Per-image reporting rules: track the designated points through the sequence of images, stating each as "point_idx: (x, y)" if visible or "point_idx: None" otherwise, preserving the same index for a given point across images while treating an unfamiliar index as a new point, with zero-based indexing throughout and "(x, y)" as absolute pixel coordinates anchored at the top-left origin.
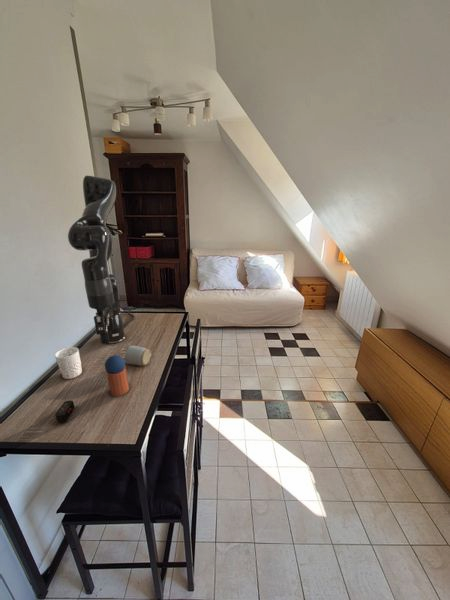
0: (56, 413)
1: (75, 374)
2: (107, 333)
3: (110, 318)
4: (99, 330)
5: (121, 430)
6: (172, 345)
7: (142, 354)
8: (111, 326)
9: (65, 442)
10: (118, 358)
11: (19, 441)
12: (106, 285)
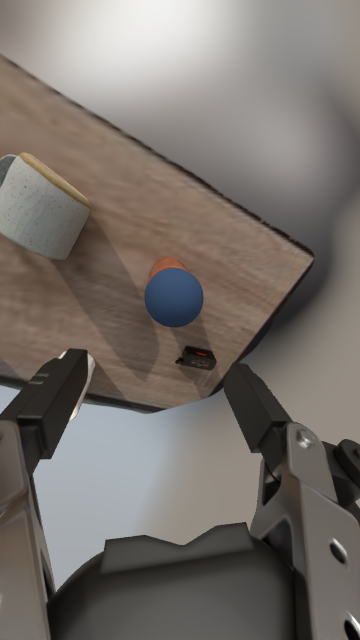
0: (207, 369)
1: (89, 359)
2: (278, 413)
3: (27, 482)
4: (347, 503)
5: (274, 278)
6: None
7: (67, 192)
8: (70, 382)
9: (246, 345)
10: (187, 292)
11: (214, 387)
12: None
